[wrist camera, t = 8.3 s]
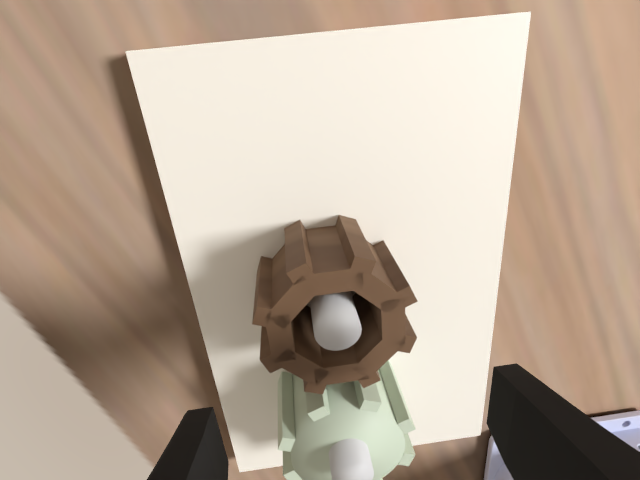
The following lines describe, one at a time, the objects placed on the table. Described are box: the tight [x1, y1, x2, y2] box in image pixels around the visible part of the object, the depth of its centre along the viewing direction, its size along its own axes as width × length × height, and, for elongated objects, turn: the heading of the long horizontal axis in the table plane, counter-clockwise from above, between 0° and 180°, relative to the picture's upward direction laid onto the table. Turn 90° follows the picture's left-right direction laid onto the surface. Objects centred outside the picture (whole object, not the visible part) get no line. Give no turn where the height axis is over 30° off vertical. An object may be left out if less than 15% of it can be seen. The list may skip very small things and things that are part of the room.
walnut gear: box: [252, 215, 418, 394], centre depth 15 cm, size 5×5×4 cm
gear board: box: [125, 12, 531, 480], centre depth 15 cm, size 13×20×6 cm, turn 5°
